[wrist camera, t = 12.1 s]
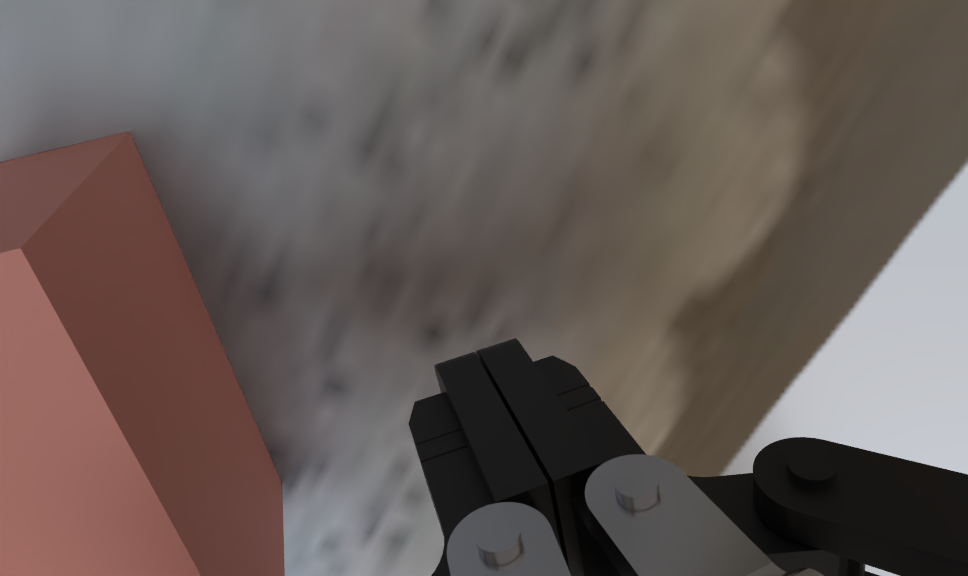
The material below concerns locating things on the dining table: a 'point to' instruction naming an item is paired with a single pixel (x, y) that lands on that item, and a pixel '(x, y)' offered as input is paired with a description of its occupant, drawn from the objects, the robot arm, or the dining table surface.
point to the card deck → (118, 387)
